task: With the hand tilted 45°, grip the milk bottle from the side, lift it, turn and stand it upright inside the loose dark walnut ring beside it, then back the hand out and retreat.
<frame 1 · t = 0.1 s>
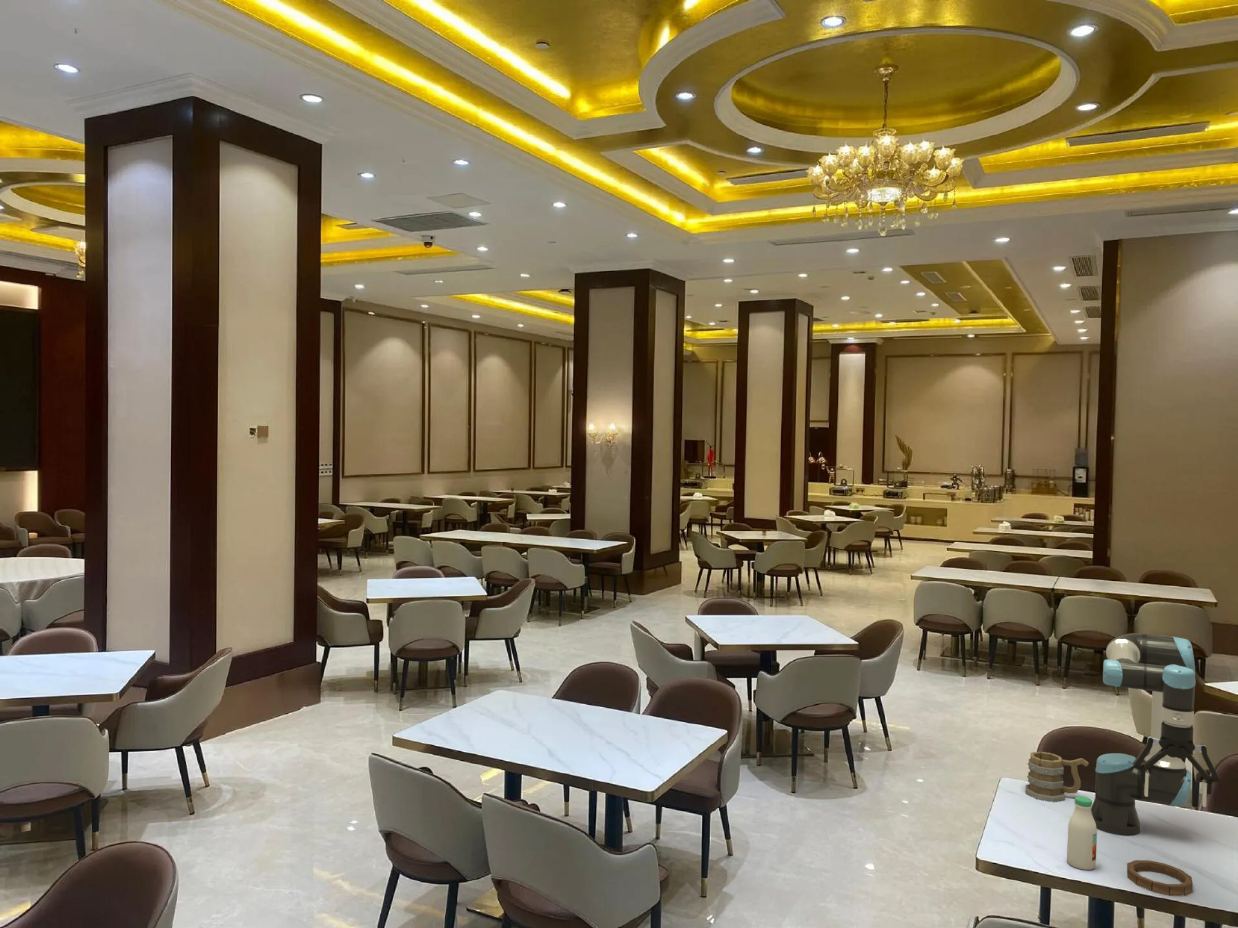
hand: (1174, 799, 247), 28 cm above the table, tool pointing down, fingers open, 13 cm apart
milk bottle: (1081, 865, 267), on the table
tankard: (1056, 797, 321), on the table
walnut ring: (1159, 881, 258), on the table
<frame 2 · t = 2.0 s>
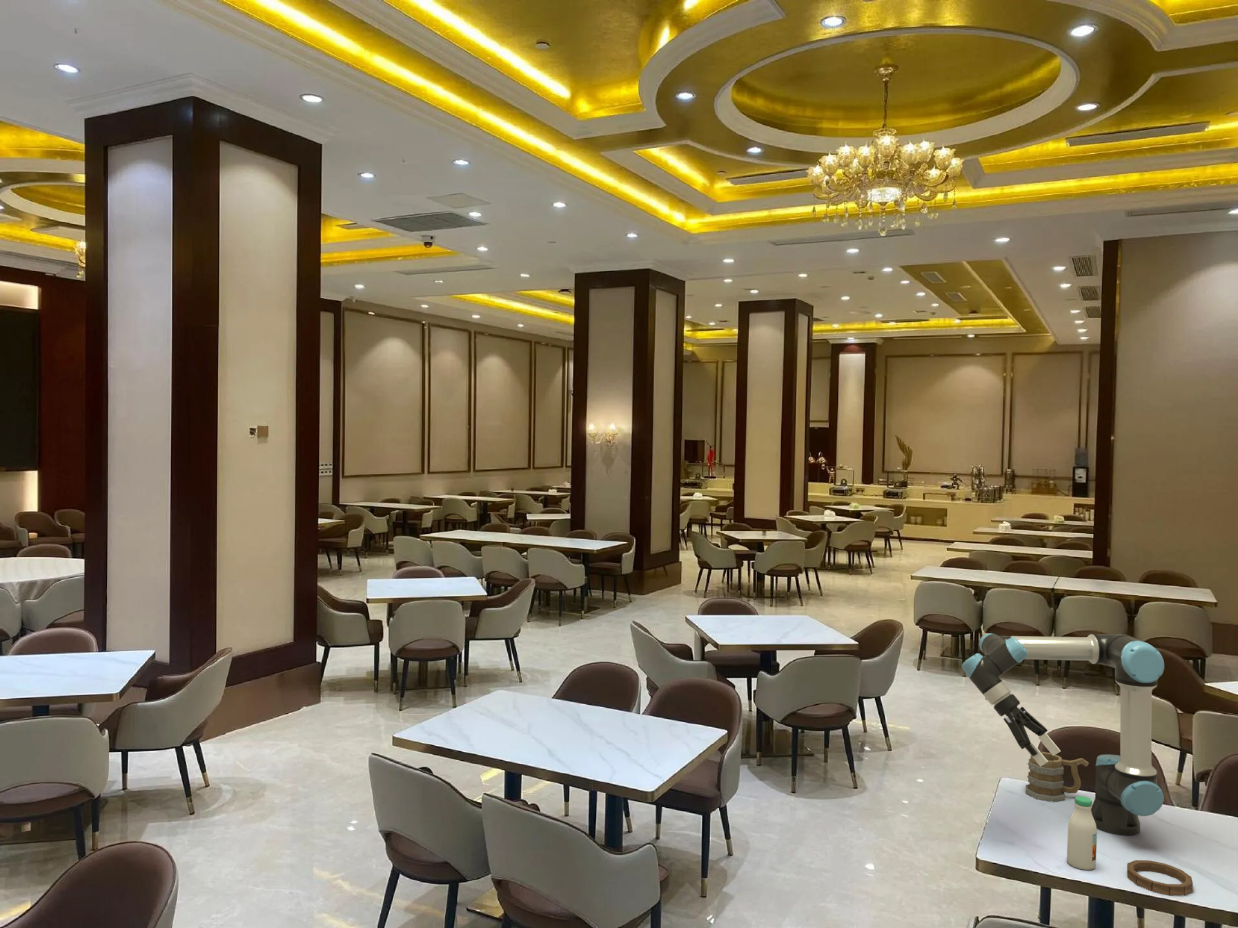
hand: (1050, 758, 273), 30 cm above the table, tool tilted 45°, fingers open, 13 cm apart
nothing on the table moved.
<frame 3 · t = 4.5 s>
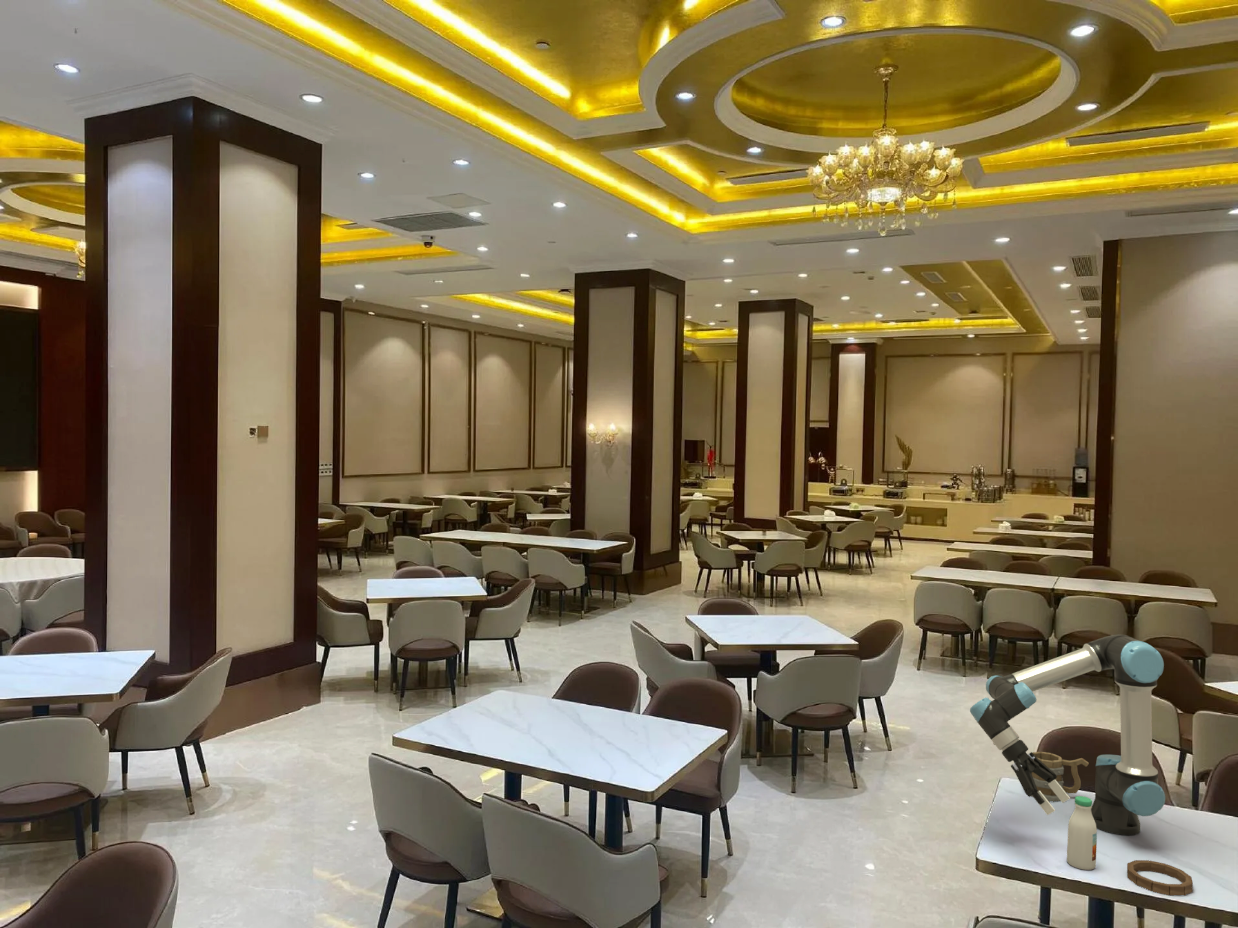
hand: (1059, 806, 271), 16 cm above the table, tool tilted 45°, fingers open, 13 cm apart
nothing on the table moved.
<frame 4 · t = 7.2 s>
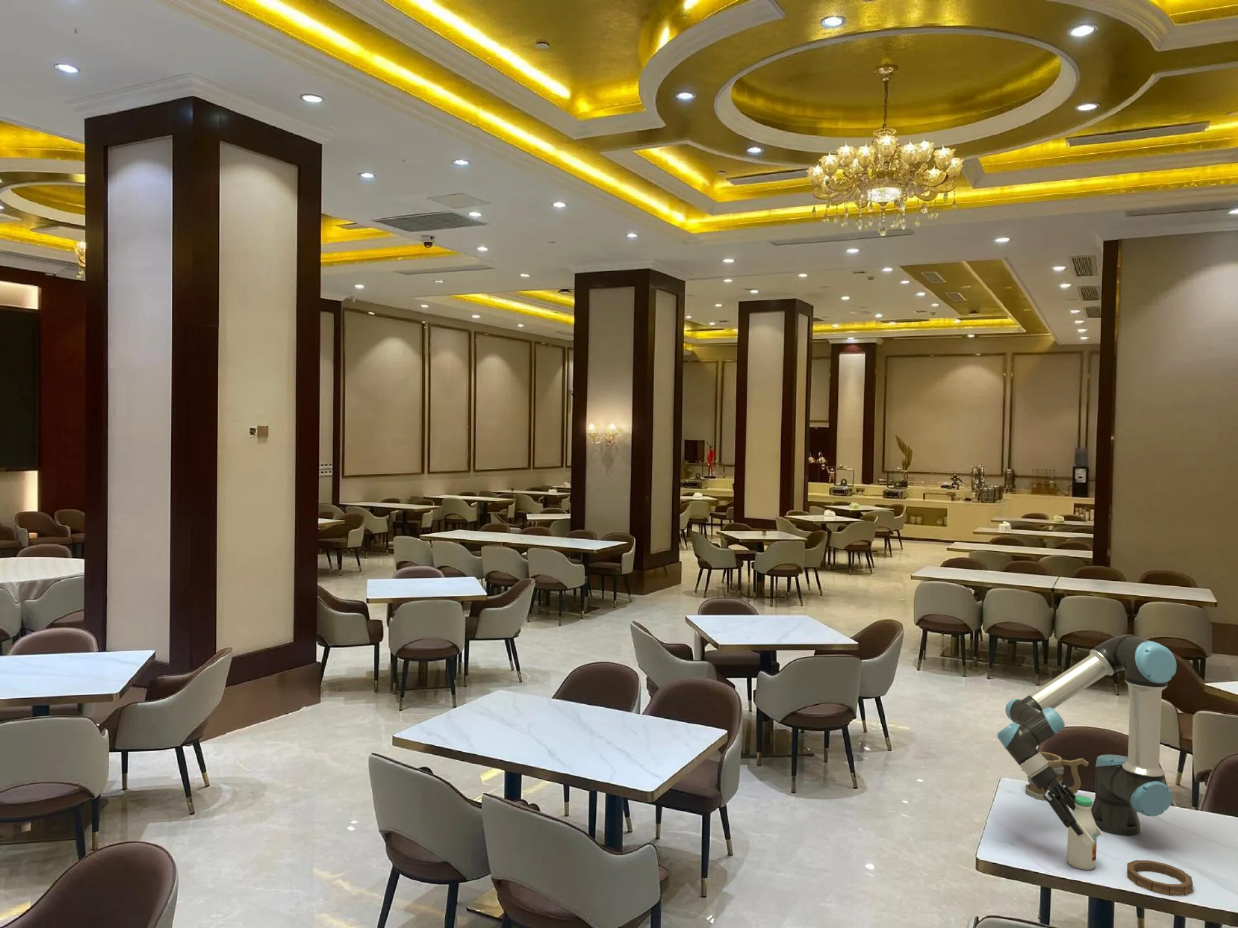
hand: (1094, 839, 265), 9 cm above the table, tool tilted 45°, fingers closed on milk bottle, 7 cm apart
milk bottle: (1081, 865, 267), on the table, touching gripper
everything else where it was.
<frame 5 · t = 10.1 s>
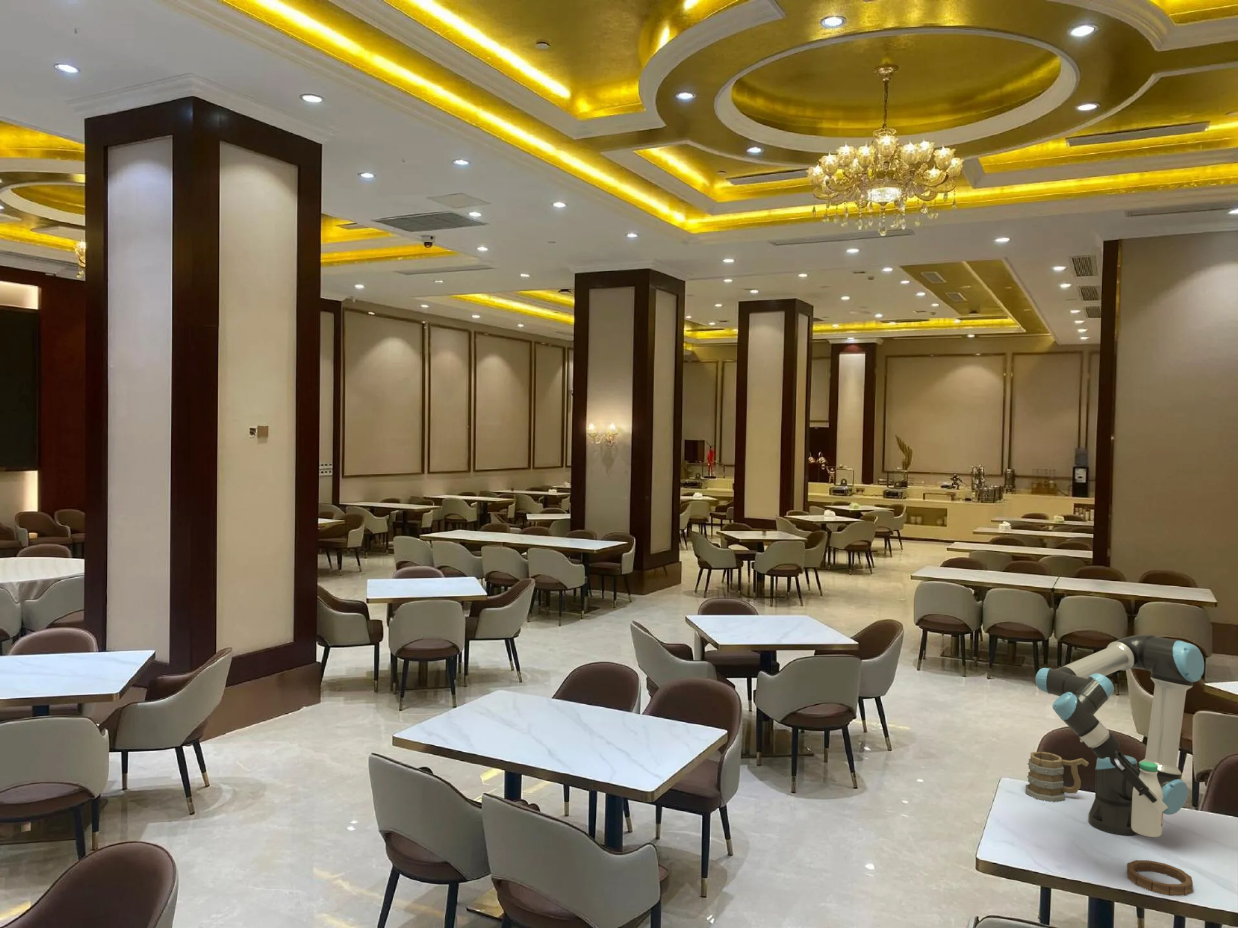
hand: (1161, 804, 257), 23 cm above the table, tool tilted 45°, fingers closed on milk bottle, 7 cm apart
milk bottle: (1146, 832, 259), point 14 cm above the table, touching gripper
everything else where it was.
when the fingers open (10 cm above the table, at t = 13.3 s): milk bottle drops 1 cm, resting in walnut ring.
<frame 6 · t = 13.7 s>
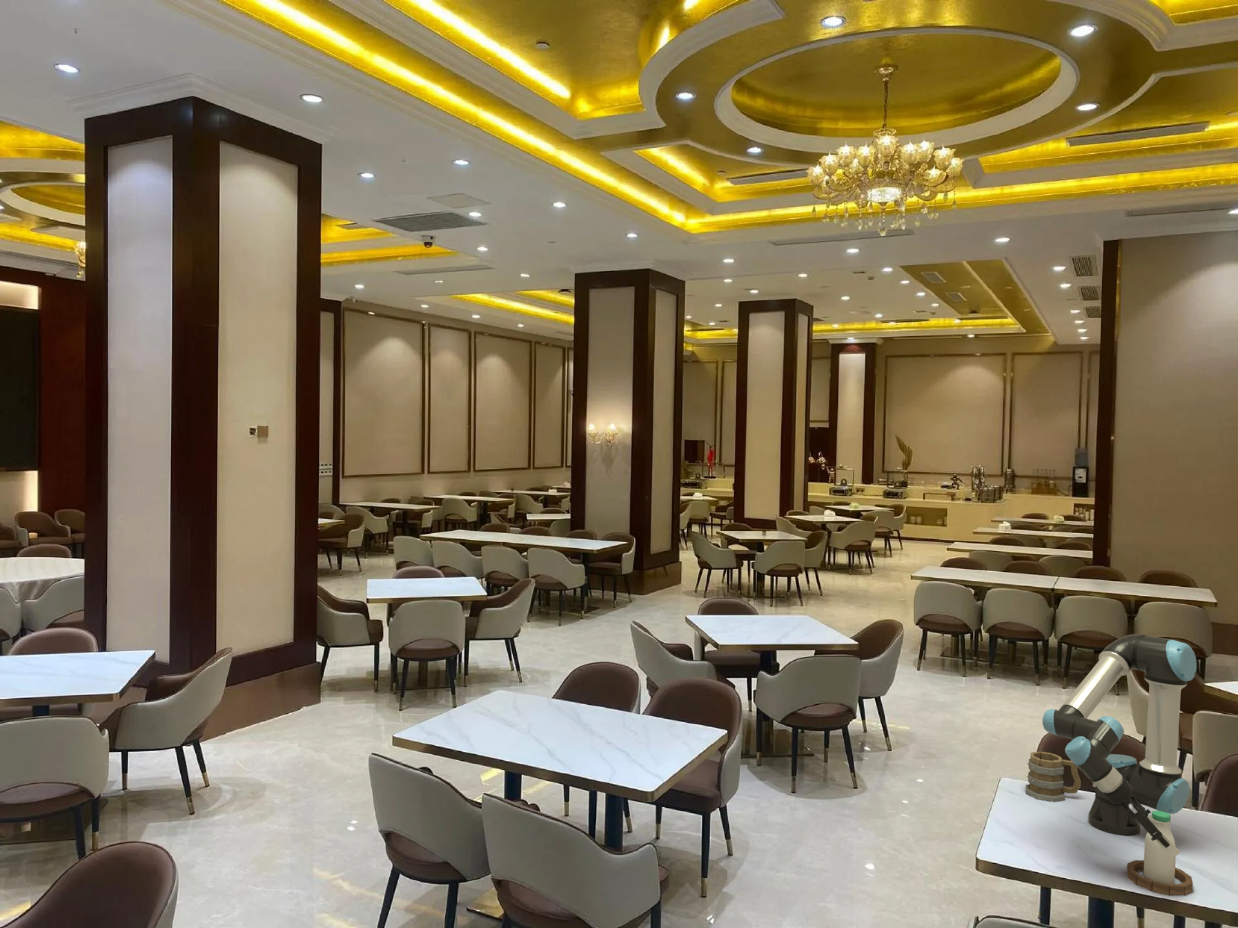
hand: (1169, 844, 257), 11 cm above the table, tool tilted 45°, fingers open, 13 cm apart
milk bottle: (1158, 882, 258), resting in walnut ring
everything else where it was.
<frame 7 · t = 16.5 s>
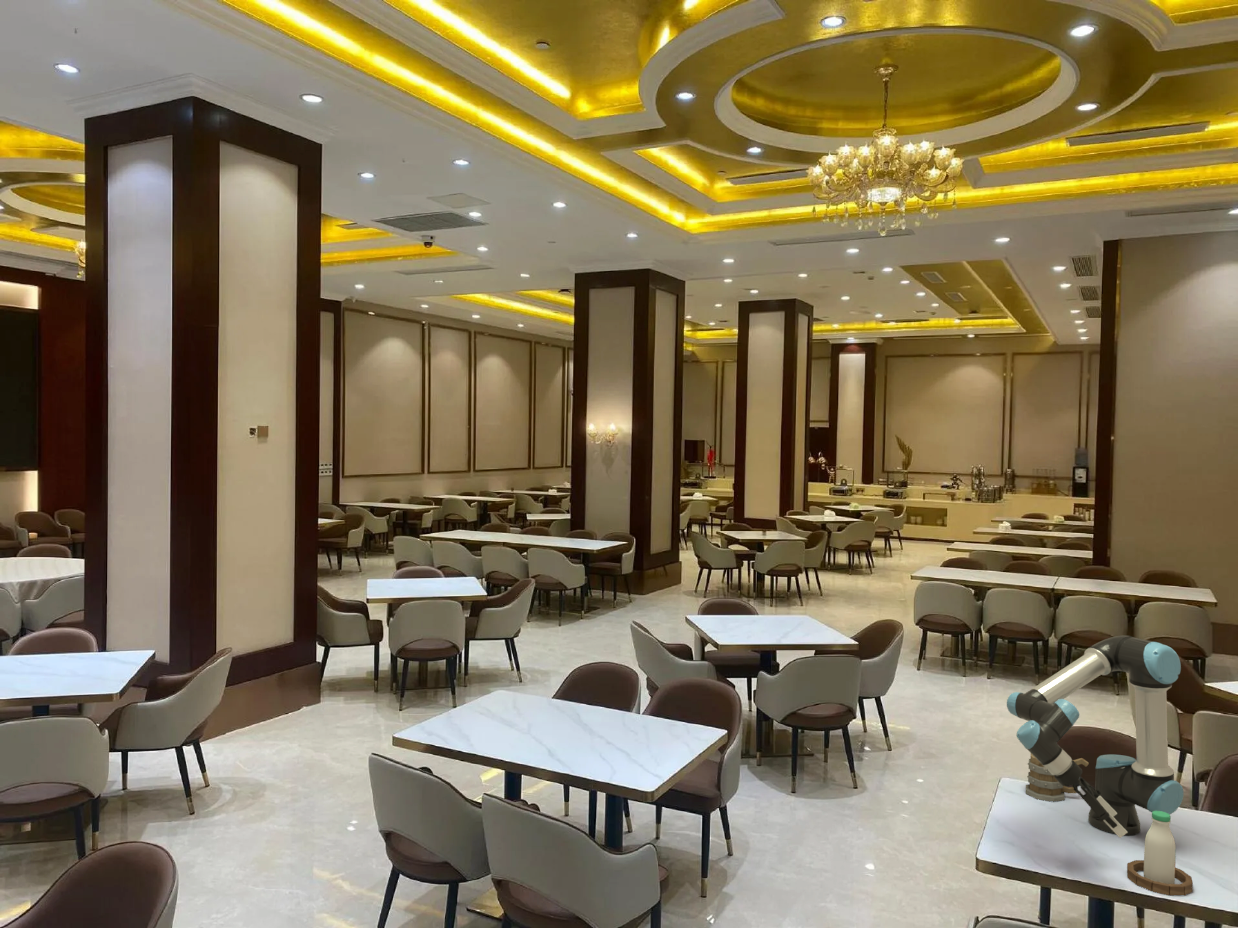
hand: (1118, 824, 261), 15 cm above the table, tool tilted 45°, fingers open, 13 cm apart
nothing on the table moved.
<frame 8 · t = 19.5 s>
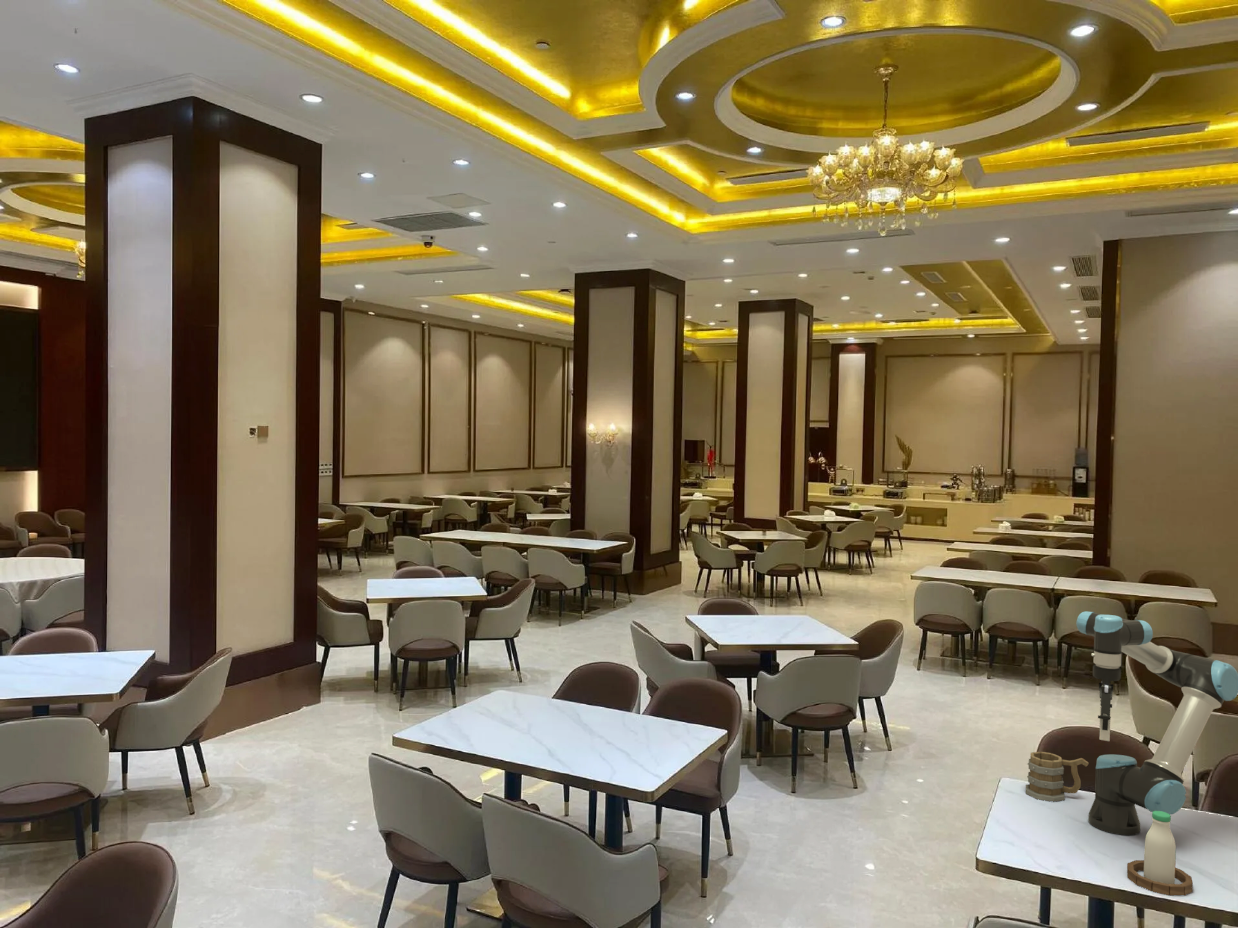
hand: (1104, 734, 276), 37 cm above the table, tool pointing down, fingers open, 13 cm apart
nothing on the table moved.
at the end: milk bottle 0.3 cm from the walnut ring (horizontally); milk bottle tilted 0°; the gripper is holding nothing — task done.
